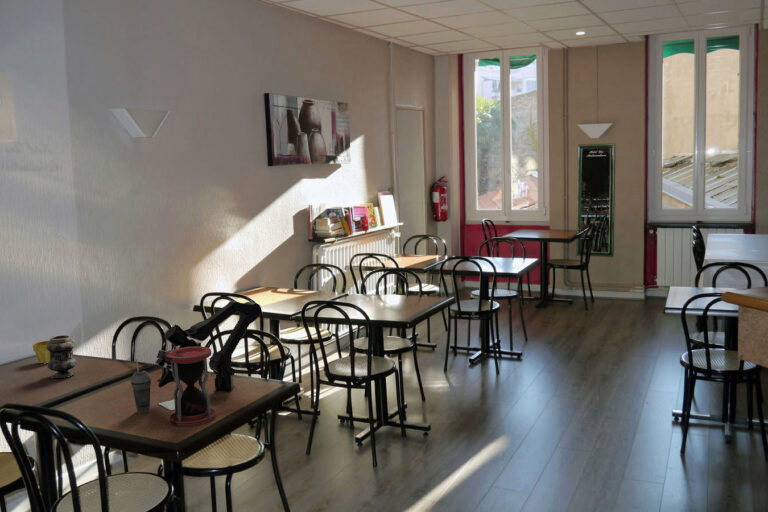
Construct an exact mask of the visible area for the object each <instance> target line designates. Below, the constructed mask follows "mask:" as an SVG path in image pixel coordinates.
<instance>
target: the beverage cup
mask: <svg viewBox="0 0 768 512" xmlns="http://www.w3.org/2000/svg"><path fill="white" fill-rule="evenodd" d="M135 362H136V369H137V371H135V372H134V373H133V374H132V375H131V381H130V384H131V388H132V391H133V397H134V402H135V408H136V413H138V412H139V413H138V414H145V413H148V412H150V410H151V408H150V407H151V383H152V379H151V375H150V374H149V373H148V372H147V371H145V370H143V369H142V370H140V368H139V362H138V359H135ZM144 412H145V413H144Z"/></svg>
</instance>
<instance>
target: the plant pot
mask: <svg viewBox="0 0 768 512" xmlns="http://www.w3.org/2000/svg"><path fill="white" fill-rule="evenodd" d="M49 342H50V339H49V340H42V341H37V342H35V343H33V344H32V348H33V349H32V350H33V352H34V353H35V356H36V358H37V361H38V364H39V363H48V362H49V361H50V351H48V350H47V348H46V346H47V344H48V343H49Z"/></svg>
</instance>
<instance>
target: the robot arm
mask: <svg viewBox="0 0 768 512" xmlns="http://www.w3.org/2000/svg"><path fill="white" fill-rule="evenodd" d="M262 311H263V310H262V307H261V305H260V304H259V303H256V302H251V301H246V302H244V303H243V302H239V301H236V300H229V302H228V303H226V304H225V305H224V306H223V307H221V308H220V309H219V310H217V311H216V312H215V313H213V314H212V315H211V316H210V317H208V318H207V319H205V320H202V321H199V322H196V323H195V324H192V325H191V326H190V327H189V328H187V329H185V330H184V329H182V328H181V326H179V325H178V324H174V325H173V326H171V327H169V328H168V329H167V330H166V331H165V333H164V335H163V337H164V339H165V340H166V341H168V342H169V343H170V344H171V345H173V346H174V347H178V348H184V347H195V346H197V347H200V346H202V343H201V342H203V341H206V340H207V339H208V338H209V337H210V336H211V335H212V333H213V332H214V329H216V328H217V327H218V326H219V325H221V324H222V323H223V322H224V321H226V320H227V319H229V318H230V317H231V316H233V314H235V313H237V312H239V316H238V317H239V318H238V320H237V322H236V324H235V325H234V327H233V329H232V331H231V332H230V334H229V335H228V337H227V339H226V341H225V342H224V344H223V346H222V348H221V349H219V351H217V350H214V351H213V353H212V354H211V356H210V357H209V361H208V367H209V369H210V370H211V371H212V373H213V374H215V378H214V389H215V392H231V391H232V390H233V389H234V388H235V384H234V378H233V376H235V372H236V369H234V368H233V367H232V366H231V364H232V357H233V354H234V352H235V350H236V348H237V347H238V345H239V344H240V342H241V340H242V338H243V337H244V335H245V333H246V331H247V329H248V328H249V326H250V325H251V324H252V323H253V322H255V321H256V320H257V319H258V318H259V317H260V315H261V314H262ZM197 341H198V342H197ZM169 351H171V350H163V349H159V350H158V352H157V355H156V358H157V360H156V361H155V364H157V365H158V366H159V367H160V368H161V372H162V373H161V374H162V376H161V379H160V380H159V382H158V384H157V387H158V388H163V387H164V386H166V385H168V384H169V383H172V382H174V381H173V380H175V379H174V378H173V375H172V365H171V362H169V361H167V360H166V359H165V354H166V353H167V352H169Z"/></svg>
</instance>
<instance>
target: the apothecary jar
mask: <svg viewBox="0 0 768 512" xmlns="http://www.w3.org/2000/svg"><path fill="white" fill-rule="evenodd" d="M71 337H72V336H70V335H68V334H64V335H63V334H59V335H55V336H50V337H49V340H50V342H49V343H48V344H47V346H46V348H47V350H48V351H50V361H49V362H48V364H46V365H47V368H48V369H49V370H50V371H53V372H56V373H54V374H53V375H52V376H51V377H53V378H64V377H68V376H72V375H74V374H75V375H76V372H75V371H71V369H73V368H75V367H76V366H77V362H78V361H77V360H76V358H74V348H75V346H76V342H75V341H74V340H72V338H71ZM75 375H74V376H75ZM72 377H73V376H72ZM53 378H52V379H53ZM64 379H65V378H64Z"/></svg>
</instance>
